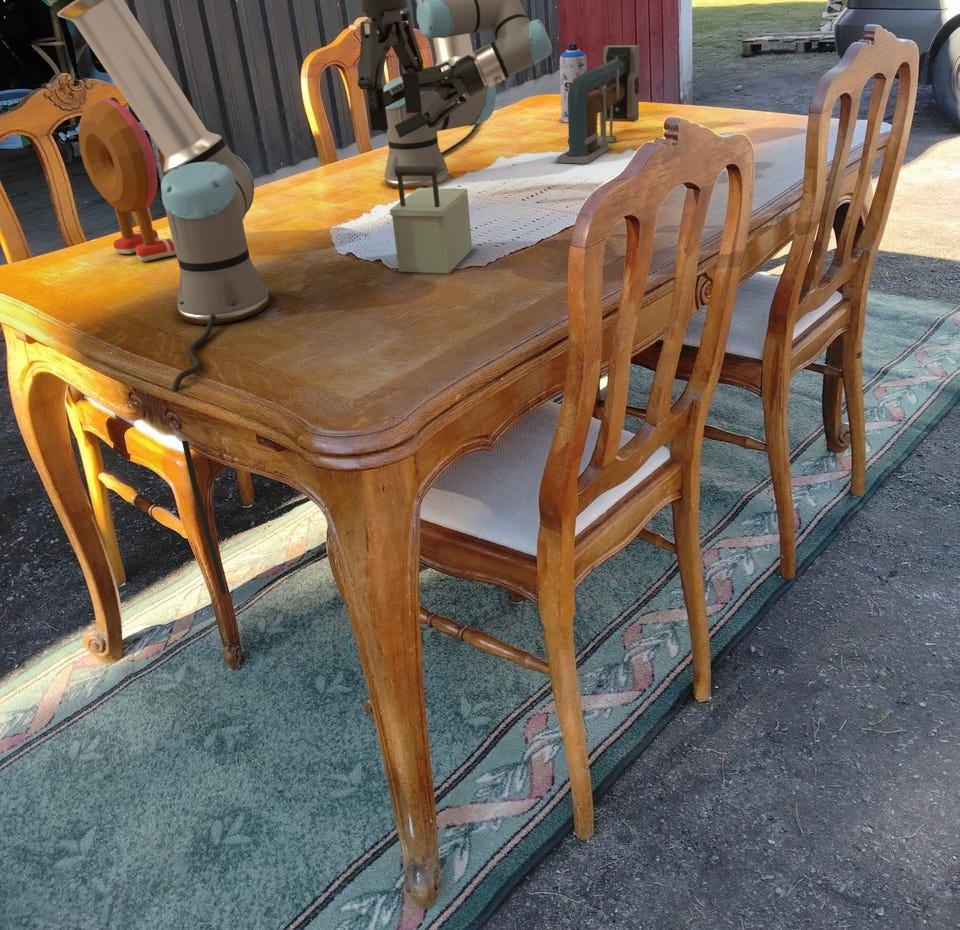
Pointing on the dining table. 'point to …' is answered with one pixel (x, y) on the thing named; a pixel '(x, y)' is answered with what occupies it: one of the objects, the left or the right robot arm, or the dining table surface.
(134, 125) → the toy
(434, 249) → the chest
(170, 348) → the dining table surface
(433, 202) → the lid
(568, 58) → the aerosol can
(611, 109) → the clamp
